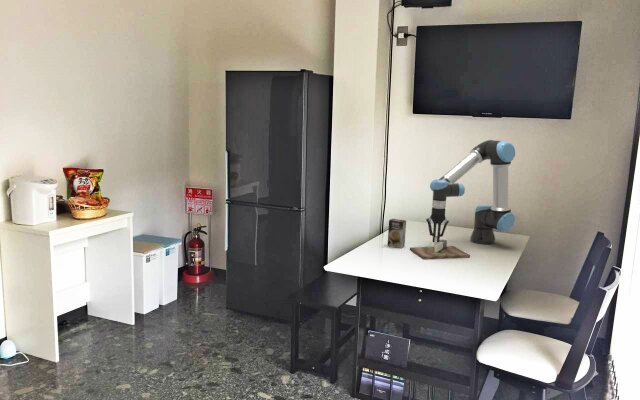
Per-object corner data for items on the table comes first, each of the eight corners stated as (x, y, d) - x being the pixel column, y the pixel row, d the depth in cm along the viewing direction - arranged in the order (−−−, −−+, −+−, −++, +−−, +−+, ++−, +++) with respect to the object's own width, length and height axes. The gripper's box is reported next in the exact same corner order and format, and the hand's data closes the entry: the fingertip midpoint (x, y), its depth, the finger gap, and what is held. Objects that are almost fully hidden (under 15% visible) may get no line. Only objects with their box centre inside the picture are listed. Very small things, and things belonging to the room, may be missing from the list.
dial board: (453, 248, 322) (453, 245, 322) (469, 257, 303) (470, 254, 303) (409, 249, 316) (409, 246, 316) (423, 259, 297) (423, 256, 297)
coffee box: (387, 246, 323) (388, 220, 320) (390, 244, 329) (392, 218, 326) (401, 248, 319) (403, 221, 316) (405, 246, 324) (406, 220, 322)
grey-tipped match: (440, 246, 319) (440, 239, 318) (447, 247, 317) (448, 240, 316) (431, 252, 306) (432, 244, 305) (439, 253, 304) (439, 245, 303)
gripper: (426, 207, 303) (423, 247, 308) (449, 209, 299) (445, 250, 303) (428, 205, 310) (425, 244, 315) (451, 207, 306) (447, 247, 310)
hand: (435, 247), depth 309 cm, fingers closed
